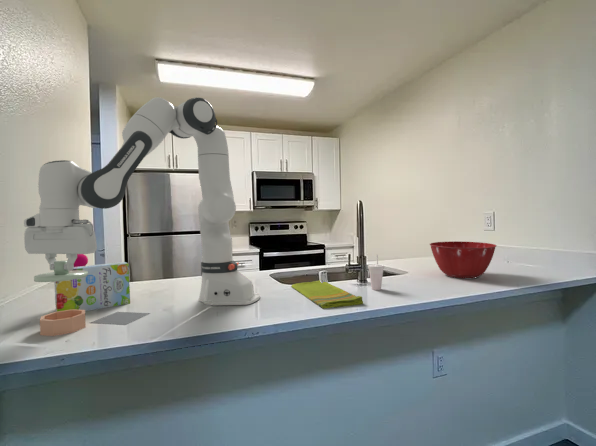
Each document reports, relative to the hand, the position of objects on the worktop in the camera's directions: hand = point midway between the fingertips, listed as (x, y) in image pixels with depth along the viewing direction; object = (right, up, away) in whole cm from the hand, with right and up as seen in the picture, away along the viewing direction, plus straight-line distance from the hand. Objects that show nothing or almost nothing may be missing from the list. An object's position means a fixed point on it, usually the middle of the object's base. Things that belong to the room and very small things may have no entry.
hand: (61, 270), depth 90 cm
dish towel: (+75, -15, +36) cm, 84 cm away
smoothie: (+97, -14, +43) cm, 107 cm away
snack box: (-5, -17, +22) cm, 28 cm away
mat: (+11, -16, +9) cm, 22 cm away
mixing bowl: (+144, -13, +67) cm, 159 cm away
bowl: (0, -17, 0) cm, 17 cm away
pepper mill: (-14, -17, +28) cm, 35 cm away
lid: (0, -2, 0) cm, 2 cm away
